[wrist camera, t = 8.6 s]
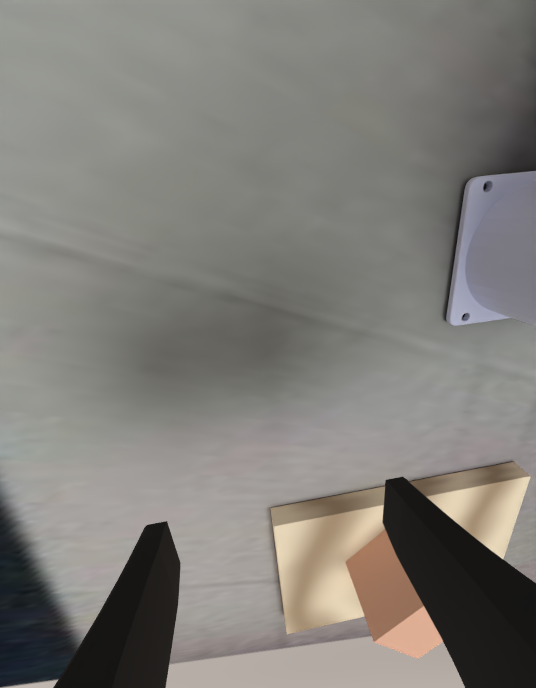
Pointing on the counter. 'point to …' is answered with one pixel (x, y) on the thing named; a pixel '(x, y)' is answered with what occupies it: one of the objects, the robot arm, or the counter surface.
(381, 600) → the terracotta cube
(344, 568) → the birch board
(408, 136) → the counter surface
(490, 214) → the robot arm
